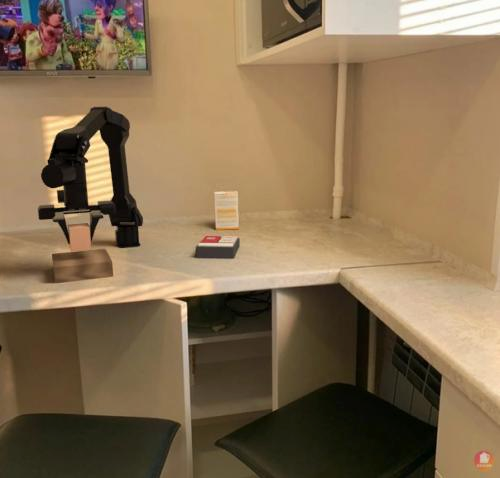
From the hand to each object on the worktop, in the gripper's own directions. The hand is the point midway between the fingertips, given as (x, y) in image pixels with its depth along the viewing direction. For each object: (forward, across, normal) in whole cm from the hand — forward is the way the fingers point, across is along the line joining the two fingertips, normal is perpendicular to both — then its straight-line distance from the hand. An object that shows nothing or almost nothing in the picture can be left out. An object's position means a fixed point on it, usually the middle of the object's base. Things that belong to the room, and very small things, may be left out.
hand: (80, 242), depth 143 cm
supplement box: (+8, -52, -35) cm, 63 cm away
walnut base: (+8, 0, 0) cm, 8 cm away
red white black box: (+9, -39, -6) cm, 41 cm away
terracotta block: (+2, 0, 0) cm, 2 cm away
